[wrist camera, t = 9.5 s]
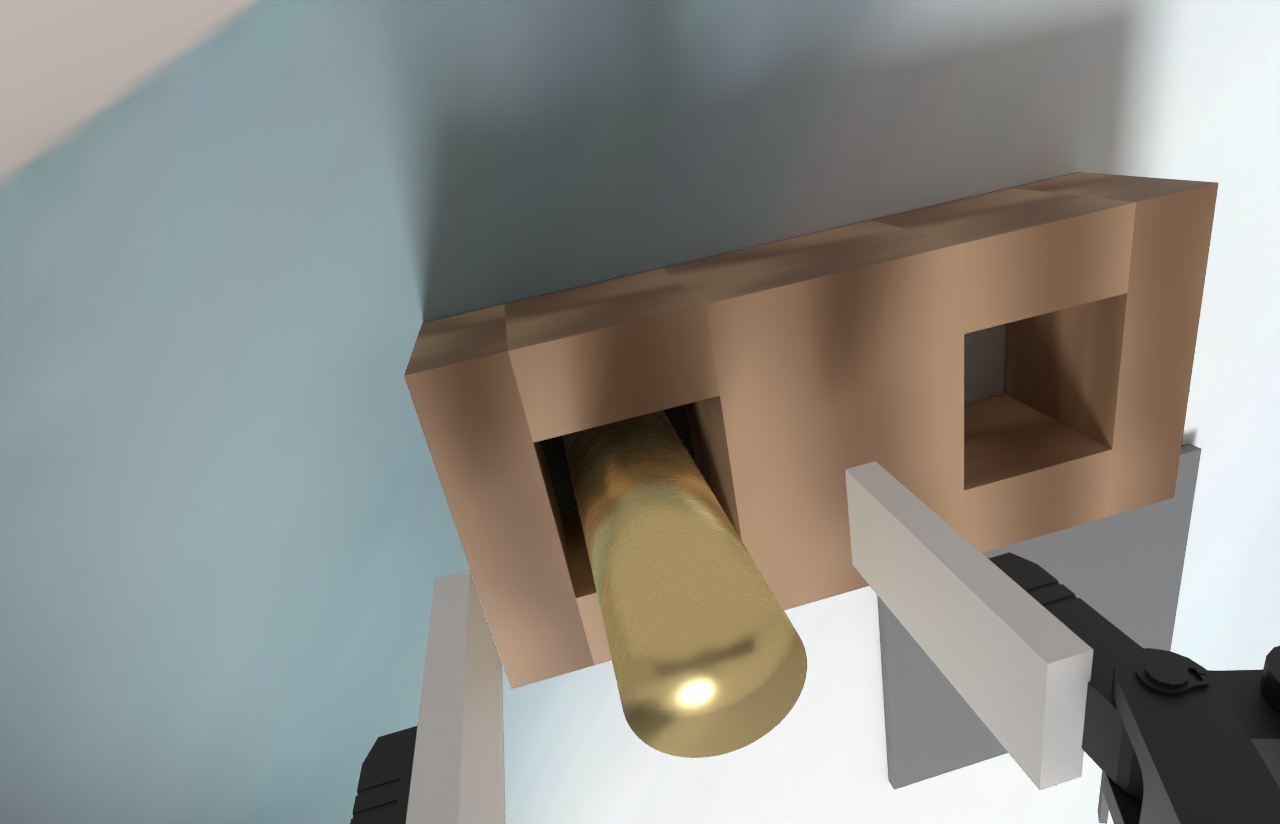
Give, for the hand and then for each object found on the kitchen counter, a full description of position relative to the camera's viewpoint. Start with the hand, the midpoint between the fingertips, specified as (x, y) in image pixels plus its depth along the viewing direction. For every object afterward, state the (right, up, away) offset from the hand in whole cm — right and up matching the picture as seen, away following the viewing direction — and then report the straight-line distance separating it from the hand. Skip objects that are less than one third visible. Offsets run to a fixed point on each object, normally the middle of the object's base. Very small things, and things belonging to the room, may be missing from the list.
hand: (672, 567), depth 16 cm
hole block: (+4, +4, +8) cm, 10 cm away
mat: (+16, -6, +15) cm, 23 cm away
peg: (-2, +3, +7) cm, 8 cm away
